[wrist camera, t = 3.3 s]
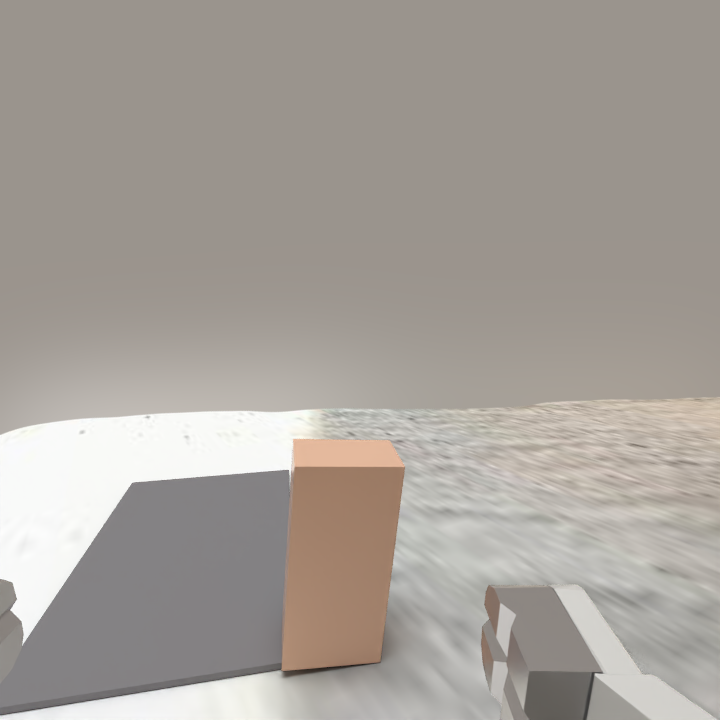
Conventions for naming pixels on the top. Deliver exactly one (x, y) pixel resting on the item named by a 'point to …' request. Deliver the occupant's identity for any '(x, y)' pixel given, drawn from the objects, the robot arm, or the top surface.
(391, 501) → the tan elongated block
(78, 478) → the top surface
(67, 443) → the top surface
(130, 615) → the mat
